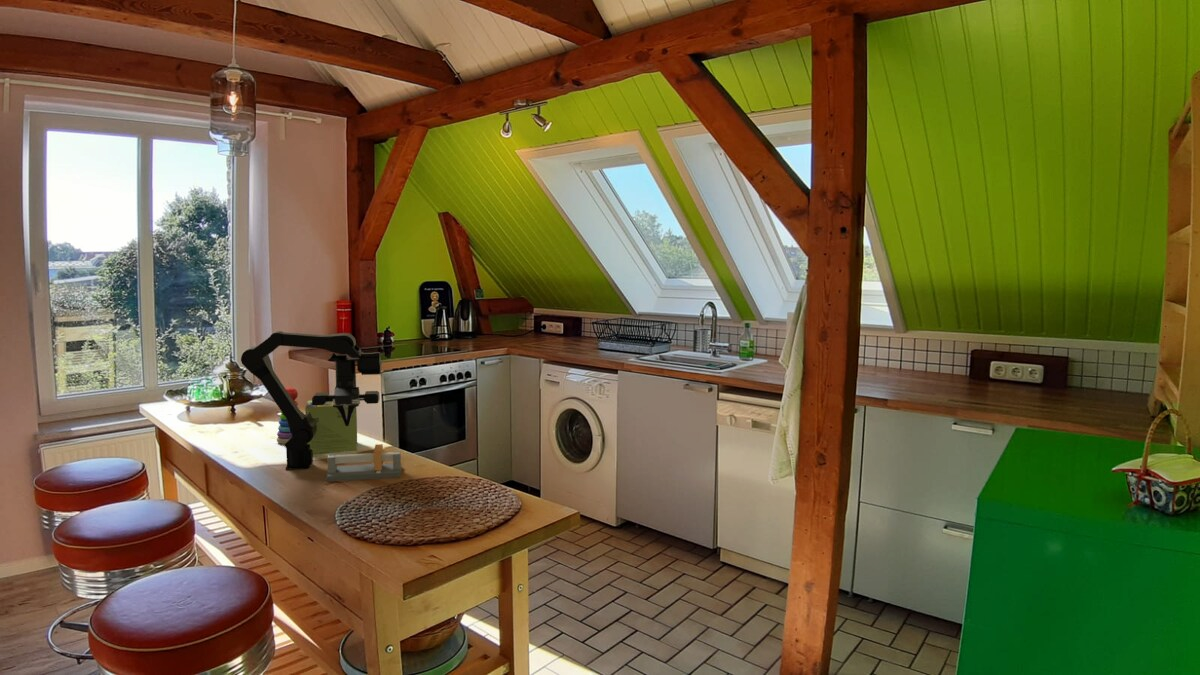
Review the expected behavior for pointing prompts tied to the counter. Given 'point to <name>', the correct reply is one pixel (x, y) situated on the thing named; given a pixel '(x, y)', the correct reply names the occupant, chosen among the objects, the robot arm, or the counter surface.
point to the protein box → (332, 429)
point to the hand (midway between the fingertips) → (347, 425)
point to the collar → (378, 457)
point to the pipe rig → (363, 467)
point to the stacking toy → (284, 428)
